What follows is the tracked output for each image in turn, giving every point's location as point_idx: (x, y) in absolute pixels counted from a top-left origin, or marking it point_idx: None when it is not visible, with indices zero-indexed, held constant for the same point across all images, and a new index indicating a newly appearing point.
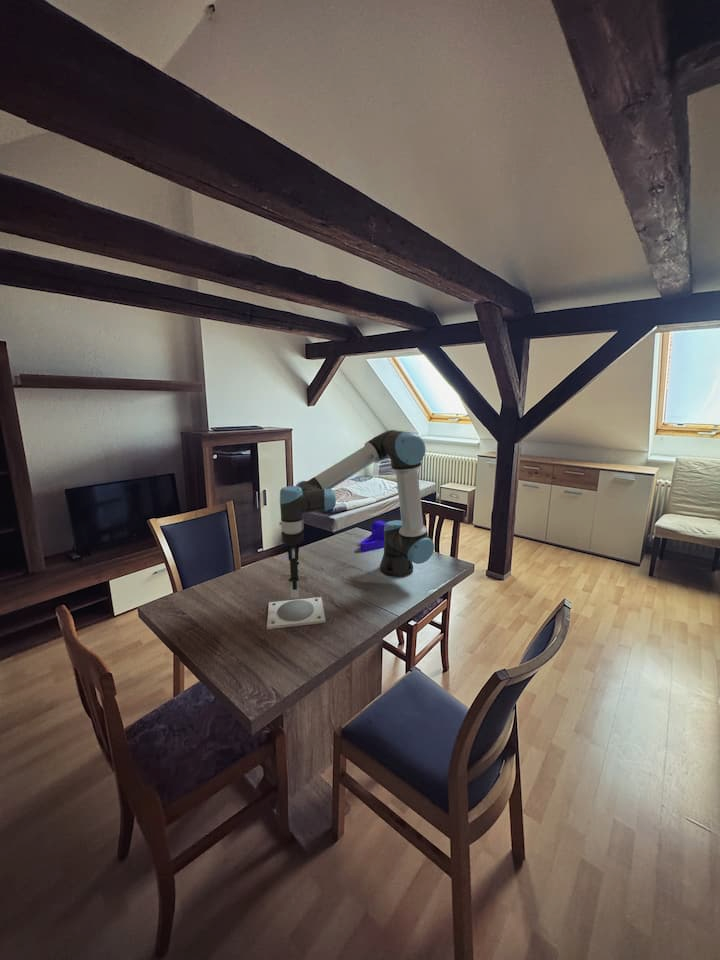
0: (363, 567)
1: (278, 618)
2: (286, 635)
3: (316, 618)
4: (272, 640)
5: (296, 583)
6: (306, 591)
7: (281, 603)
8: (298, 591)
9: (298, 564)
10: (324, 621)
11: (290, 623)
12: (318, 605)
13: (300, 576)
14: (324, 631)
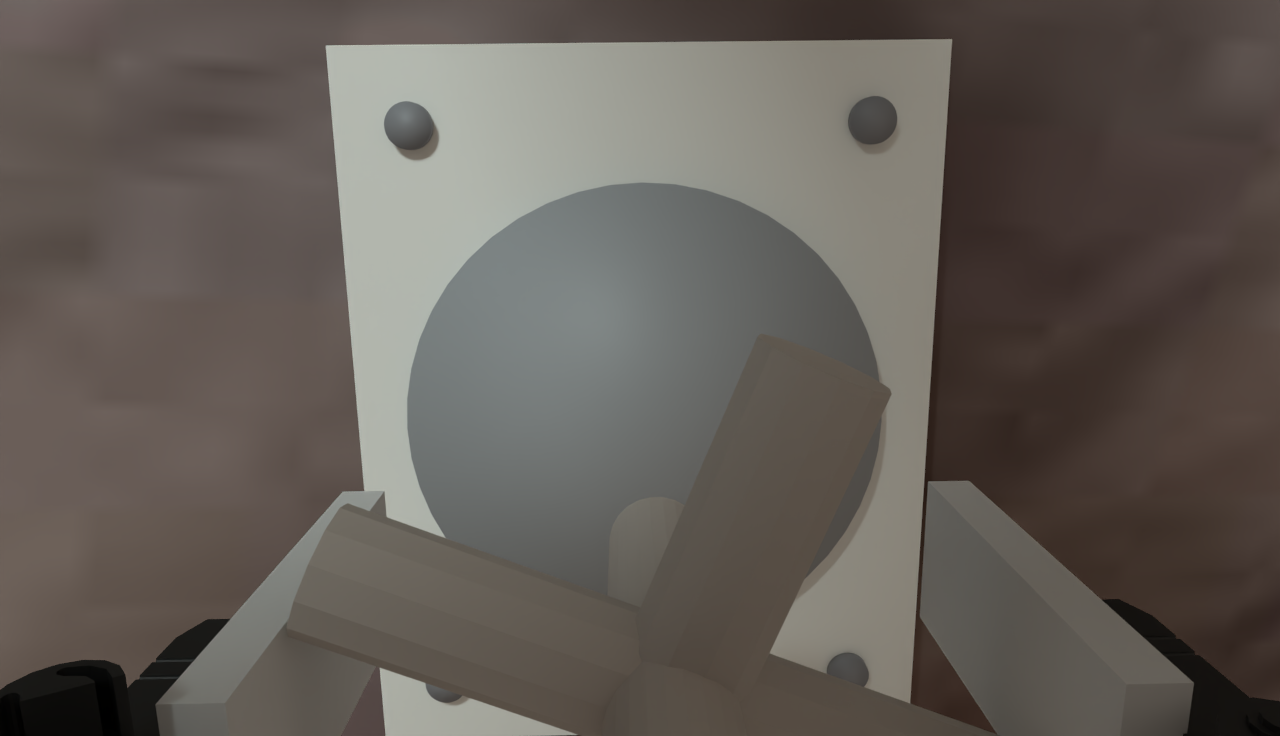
0: None
1: None
2: (1063, 512)
3: (883, 160)
4: None
5: (1236, 695)
6: (87, 259)
7: None
8: (1014, 530)
9: (125, 689)
10: (945, 55)
11: (912, 484)
12: (563, 108)
13: (758, 571)
14: (1117, 75)
